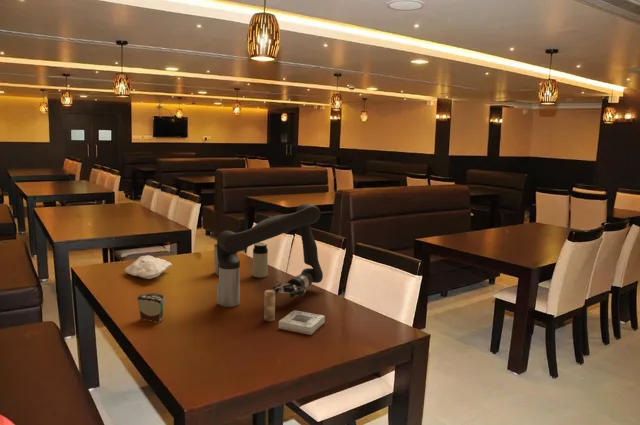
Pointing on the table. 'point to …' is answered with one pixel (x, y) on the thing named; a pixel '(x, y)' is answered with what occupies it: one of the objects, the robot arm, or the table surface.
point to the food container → (151, 306)
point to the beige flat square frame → (301, 322)
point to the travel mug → (260, 260)
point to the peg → (269, 305)
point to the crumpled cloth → (148, 267)
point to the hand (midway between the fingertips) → (282, 294)
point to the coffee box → (216, 260)
